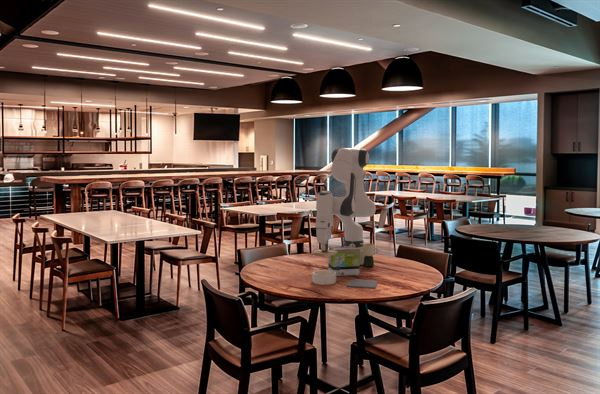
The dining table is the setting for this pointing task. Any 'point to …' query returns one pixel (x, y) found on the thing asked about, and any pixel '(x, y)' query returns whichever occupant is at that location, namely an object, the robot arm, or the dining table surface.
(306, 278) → the dining table surface
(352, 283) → the mat
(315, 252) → the lid
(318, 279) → the bowl
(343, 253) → the tea box
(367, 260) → the character mug
